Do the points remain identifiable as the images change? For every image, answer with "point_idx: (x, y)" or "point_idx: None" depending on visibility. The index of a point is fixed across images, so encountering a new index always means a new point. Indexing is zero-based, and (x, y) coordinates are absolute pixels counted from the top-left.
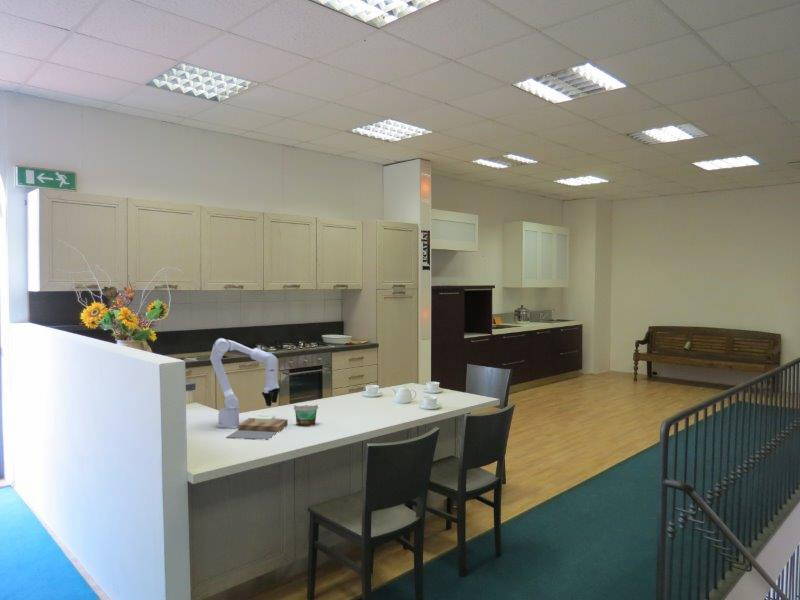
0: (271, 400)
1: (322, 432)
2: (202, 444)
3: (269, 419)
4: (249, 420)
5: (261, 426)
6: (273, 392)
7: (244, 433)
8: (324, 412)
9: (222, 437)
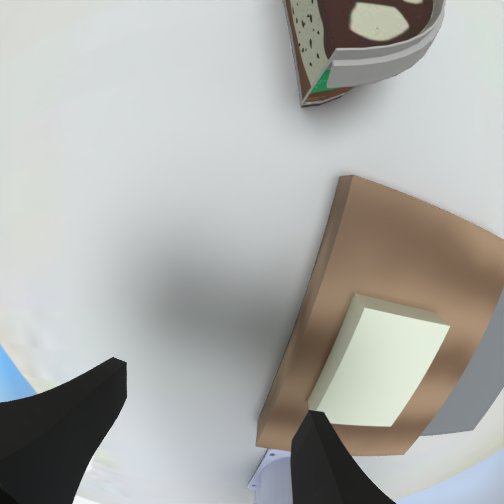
0: (339, 460)
1: (471, 9)
2: (489, 447)
3: (445, 330)
4: None
5: (473, 347)
6: (60, 480)
7: (464, 394)
8: (32, 30)
9: (456, 440)
